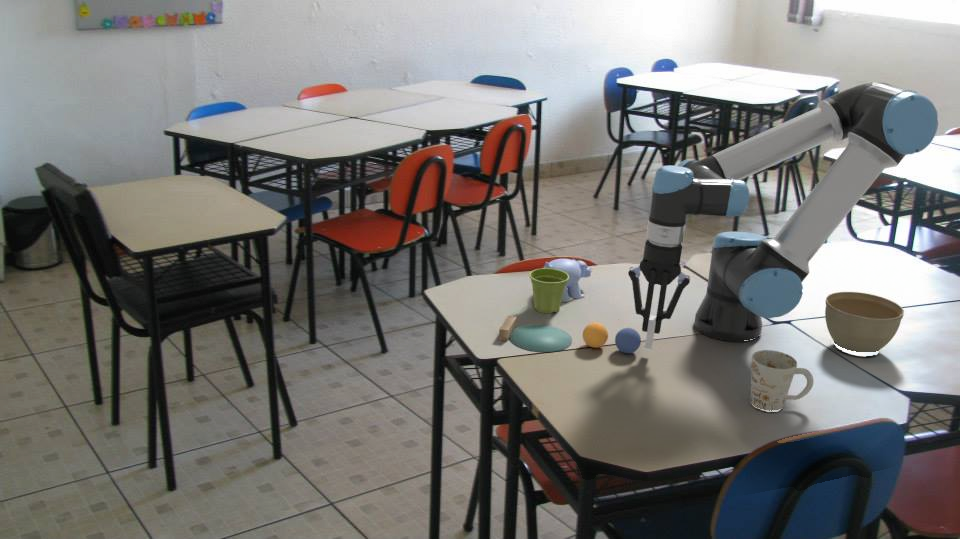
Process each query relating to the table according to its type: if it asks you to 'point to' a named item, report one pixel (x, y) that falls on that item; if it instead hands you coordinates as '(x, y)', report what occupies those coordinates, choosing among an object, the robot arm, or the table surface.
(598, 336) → the orange ball
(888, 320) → the planter bowl
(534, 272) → the plant pot
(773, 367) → the mug
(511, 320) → the rail
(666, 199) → the robot arm
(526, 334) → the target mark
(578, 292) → the hippopotamus toy
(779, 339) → the table surface
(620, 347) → the blue ball
